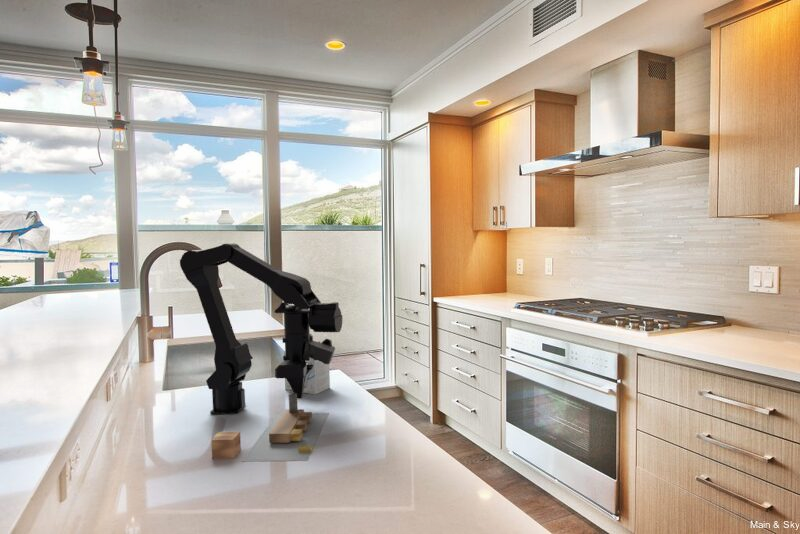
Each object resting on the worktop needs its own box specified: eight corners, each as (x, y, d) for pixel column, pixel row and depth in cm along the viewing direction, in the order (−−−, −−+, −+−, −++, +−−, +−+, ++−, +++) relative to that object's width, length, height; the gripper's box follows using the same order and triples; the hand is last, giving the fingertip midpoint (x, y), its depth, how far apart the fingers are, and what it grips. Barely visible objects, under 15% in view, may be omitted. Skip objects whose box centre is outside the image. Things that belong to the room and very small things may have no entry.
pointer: (298, 452, 95) (298, 448, 95) (299, 450, 96) (299, 446, 96) (311, 452, 95) (310, 448, 95) (312, 450, 96) (311, 445, 96)
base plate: (241, 463, 92) (241, 461, 92) (277, 415, 117) (277, 413, 117) (307, 462, 92) (307, 460, 92) (328, 414, 117) (328, 412, 117)
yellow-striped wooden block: (212, 461, 93) (211, 439, 93) (220, 452, 97) (219, 431, 97) (233, 460, 93) (232, 439, 93) (241, 451, 97) (240, 431, 97)
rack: (269, 442, 99) (268, 413, 99) (286, 417, 113) (285, 392, 113) (299, 442, 99) (298, 413, 99) (313, 417, 113) (312, 391, 113)
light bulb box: (284, 390, 137) (282, 350, 136) (300, 383, 143) (298, 345, 142) (316, 394, 132) (314, 354, 131) (331, 387, 138) (329, 348, 137)
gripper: (325, 339, 107) (327, 411, 108) (337, 324, 126) (339, 385, 127) (273, 340, 108) (275, 412, 109) (293, 325, 126) (295, 386, 127)
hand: (299, 398), depth 118 cm, fingers closed
